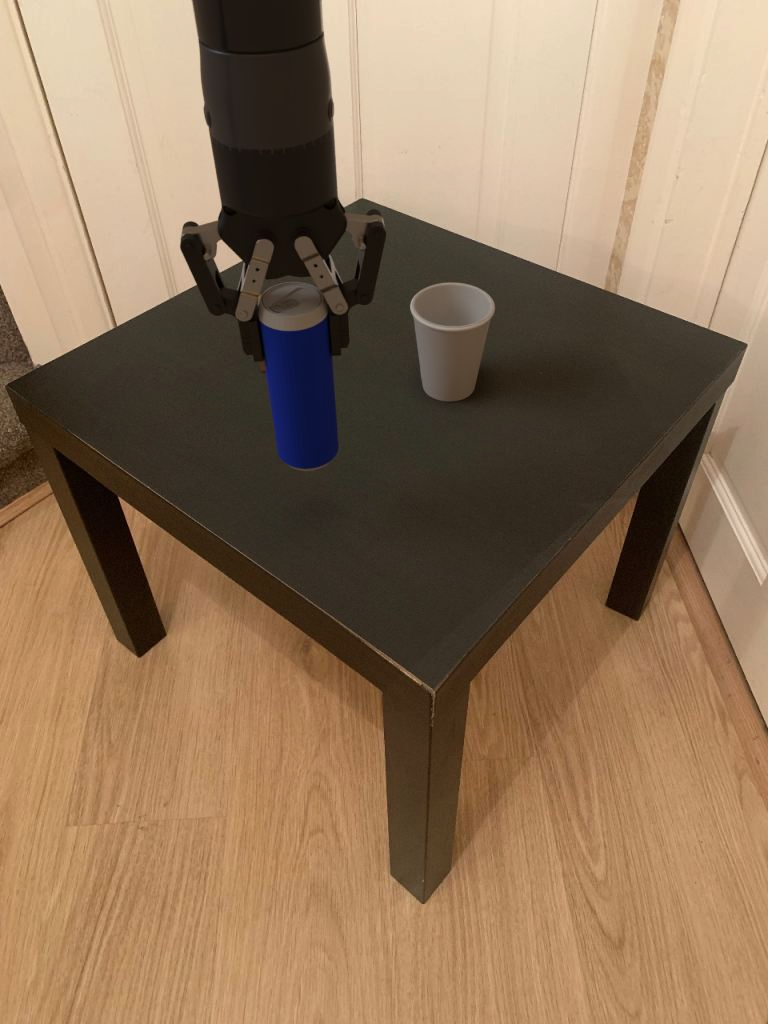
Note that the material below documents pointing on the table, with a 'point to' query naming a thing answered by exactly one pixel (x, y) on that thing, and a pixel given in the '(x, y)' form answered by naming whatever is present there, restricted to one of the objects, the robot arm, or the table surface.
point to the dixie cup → (451, 337)
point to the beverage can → (299, 373)
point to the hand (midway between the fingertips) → (297, 351)
